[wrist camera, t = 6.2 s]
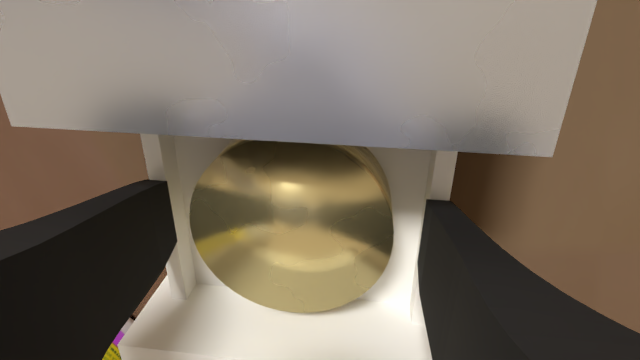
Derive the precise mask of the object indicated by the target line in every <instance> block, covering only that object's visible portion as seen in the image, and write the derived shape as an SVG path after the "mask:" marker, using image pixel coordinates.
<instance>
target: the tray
mask: <svg viewBox="0 0 640 360" xmlns="http://www.w3.org/2000/svg"><path fill="white" fill-rule="evenodd" d="M140 136H141V141H142V146H143V151H144V156H145V161H146V167H147V172H148V177H149V180H160V181H167V183H168V189H169V195H170V201H171V206H172V212H173V218H174V224H175V230H176V235H177V243H176V245H175V248H174V250H173V252H172V254H171V256H170V258H169V260H168V262H167V264H166V269H167V276H166V277H165V279H164V280H163V282H162V283H161V284H160V286H159V287H158V289H157V290H156V291H155V293H154V294H153V296H152V297H151V298H150V300H149V301H148V303H147V304H146V305H145V307H144V308H143V310H142V311H141V312H140V314H139V315H138V317H137V318H136V319H135V321H134V322H133V324H132V325H131V326H130V328H129V329H128V331H127V332H126V333H125V335H124V336H123V338H122V339H121V340H120V342H119V343H118V349H119V352H120V356H121V359H122V360H432V355H431V350H430V346H429V341H428V336H427V331H426V326H425V321H424V316H423V311H422V305H421V300H420V295H419V282H418V265H417V261H418V254H419V247H420V240H421V233H422V227H423V220H424V213H425V206H426V199H431V200H445V201H449V200H450V194H451V188H452V183H453V177H454V171H455V165H456V160H457V154H458V152H455V151H437V150H420V149H402V148H385V147H367V146H366V147H367V148H368V149H369V150H370V152H371V153H372V154H373V155H374V156H375V158H376V159H377V161H378V162H379V164H380V165H381V167H382V169H383V171H384V173H385V175H386V178H387V180H388V184H389V187H390V192H391V200H392V215H393V229H394V237H393V247H392V253H391V256H390V259H389V262H388V264H387V266H386V268H385V270H384V272H383V274H382V275H381V276H380V278H379V279H378V280H377V282H376V283H375V284H374V285H373V286H372V287H371V288H370V289H369V290H368V291H367V292H365V293H364V294H363V295H361V296H360V297H358V298H357V299H355V300H353V301H351V302H349V303H347V304H345V305H342V306H340V307H337V308H333V309H330V310H326V311H319V312H309V313H297V312H287V311H280V310H276V309H272V308H268V307H265V306H262V305H259V304H256V303H254V302H252V301H250V300H248V299H246V298H244V297H242V296H241V295H239V294H237V293H235V292H234V291H233V290H231V289H230V288H229V287H227V286H226V285H225V284H224V283H222V282H221V281H220V280H219V279H218V278H217V277H216V276H215V275H214V274H213V273H212V271H211V270H210V269H209V268H208V266H207V265H206V264H205V262H204V261H203V259H202V258H201V256H200V254H199V252H198V250H197V248H196V245H195V243H194V240H193V237H192V233H191V228H190V218H189V213H190V203H191V198H192V194H193V191H194V189H195V187H196V184H197V182H198V180H199V179H200V177H201V176H202V174H203V173H204V171H205V170H206V169H207V168H208V167H209V166H210V164H211V163H212V162H213V161H214V160H215V159H216V158H217V156H218V155H219V154H220V153H221V152H222V151H223V150H224V149H225V147H226V146H227V145H228V144H229V143H230V142H231V141H232V140H233V139H228V138H210V137H193V136H175V135H158V134H140Z"/></svg>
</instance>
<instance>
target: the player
mask: <svg viewBox="0 0 640 360" xmlns="http://www.w3.org/2000/svg"><path fill="white" fill-rule="evenodd" d="M596 3H597V0H0V94H1V97H2V100H3V103H4V106H5V109H6V111H7V114H8V117H9V120H10V123H11V126H18V127H35V128H53V129H70V130H88V131H105V132H123V133H140V134H158V135H175V136H193V137H210V138H228V139H245V140H262V141H280V142H297V143H315V144H332V145H350V146H367V147H385V148H402V149H420V150H437V151H455V152H472V153H490V154H507V155H525V156H542V157H553V153H554V150H555V146H556V143H557V139H558V136H559V132H560V129H561V125H562V122H563V118H564V115H565V111H566V108H567V104H568V101H569V97H570V94H571V90H572V87H573V83H574V80H575V76H576V73H577V69H578V66H579V62H580V59H581V55H582V52H583V48H584V45H585V41H586V38H587V34H588V31H589V27H590V24H591V20H592V17H593V13H594V10H595V6H596Z"/></svg>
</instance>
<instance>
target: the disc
mask: <svg viewBox="0 0 640 360" xmlns="http://www.w3.org/2000/svg"><path fill="white" fill-rule="evenodd" d="M189 218H190V228H191V233H192V237H193V240H194V243H195V245H196V248H197V250H198V252H199V254H200V256H201V258H202V259H203V261H204V262H205V264H206V265H207V266H208V268H209V269H210V270H211V271H212V273H213V274H214V275H215V276H216V277H217V278H218V279H219V280H220V281H221V282H222V283H224V284H225V285H226V286H227V287H229V288H230V289H231V290H233V291H234V292H235V293H237V294H239V295H241V296H242V297H244V298H246V299H248V300H250V301H252V302H254V303H256V304H259V305H262V306H265V307H268V308H272V309H276V310H280V311H287V312H297V313H309V312H319V311H326V310H330V309H333V308H337V307H340V306H342V305H345V304H347V303H349V302H351V301H353V300H355V299H357V298H358V297H360V296H361V295H363V294H364V293H365V292H367V291H368V290H369V289H370V288H371V287H372V286H373V285H374V284H375V283H376V282H377V280H378V279H379V278H380V276H381V275H382V274H383V272H384V270H385V268H386V266H387V264H388V262H389V259H390V256H391V253H392V247H393V237H394V229H393V215H392V200H391V192H390V187H389V184H388V180H387V178H386V175H385V173H384V171H383V169H382V167H381V165H380V164H379V162H378V161H377V159H376V158H375V156H374V155H373V154H372V153H371V152H370V150H369V149H368V148H367V147H366V146H350V145H332V144H315V143H297V142H280V141H262V140H245V139H233V140H232V141H231V142H230V143H229V144H228V145H227V146H226V147H225V149H224V150H223V151H222V152H221V153H220V154H219V155H218V156H217V158H216V159H215V160H214V161H213V162H212V163H211V164H210V166H209V167H208V168H207V169H206V170H205V171H204V173H203V174H202V176H201V177H200V179H199V180H198V182H197V184H196V187H195V189H194V191H193V194H192V198H191V203H190V213H189Z"/></svg>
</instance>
